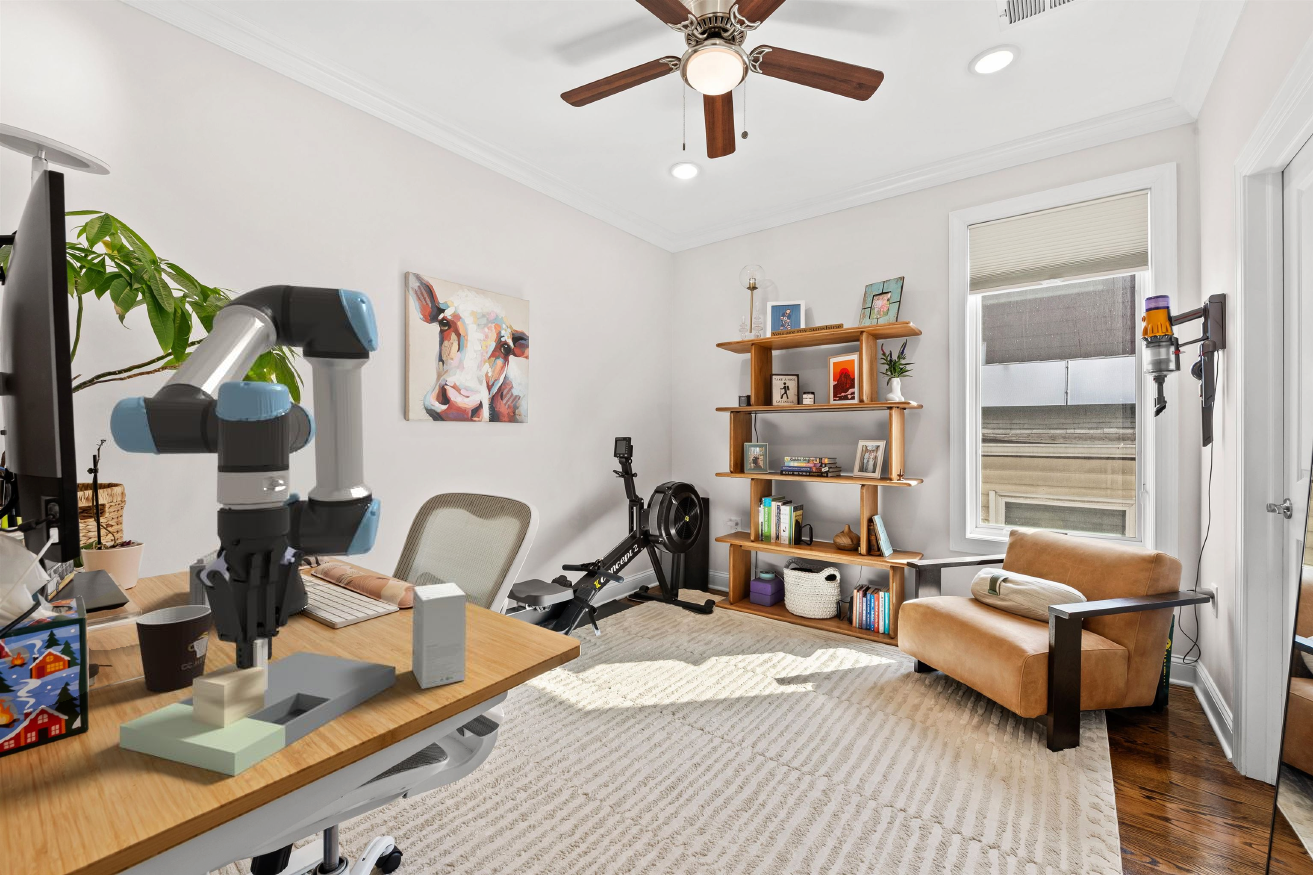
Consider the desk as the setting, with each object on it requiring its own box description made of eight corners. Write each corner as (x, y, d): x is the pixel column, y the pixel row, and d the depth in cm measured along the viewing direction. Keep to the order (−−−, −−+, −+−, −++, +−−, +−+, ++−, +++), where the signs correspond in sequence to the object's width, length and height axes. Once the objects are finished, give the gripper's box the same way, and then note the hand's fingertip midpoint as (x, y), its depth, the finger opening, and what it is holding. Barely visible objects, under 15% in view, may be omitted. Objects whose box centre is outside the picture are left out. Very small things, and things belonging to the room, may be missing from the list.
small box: (466, 680, 87) (467, 593, 87) (421, 690, 84) (421, 600, 83) (453, 661, 94) (454, 581, 94) (411, 669, 91) (412, 586, 90)
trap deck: (300, 666, 91) (300, 651, 91) (395, 683, 86) (395, 666, 86) (119, 746, 68) (119, 725, 68) (234, 776, 63) (234, 753, 63)
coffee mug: (160, 700, 79) (160, 627, 79) (121, 689, 82) (121, 619, 82) (246, 668, 90) (246, 603, 90) (208, 659, 93) (209, 597, 93)
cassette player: (221, 589, 133) (221, 545, 132) (235, 588, 133) (235, 544, 133) (189, 610, 118) (189, 560, 117) (205, 609, 118) (205, 560, 118)
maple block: (234, 701, 74) (234, 662, 74) (264, 707, 73) (264, 668, 73) (192, 720, 69) (193, 679, 69) (224, 727, 68) (224, 685, 68)
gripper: (225, 513, 66) (225, 718, 67) (321, 499, 79) (320, 673, 79) (177, 509, 68) (178, 708, 69) (278, 497, 81) (277, 666, 81)
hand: (254, 689), depth 74 cm, fingers closed
